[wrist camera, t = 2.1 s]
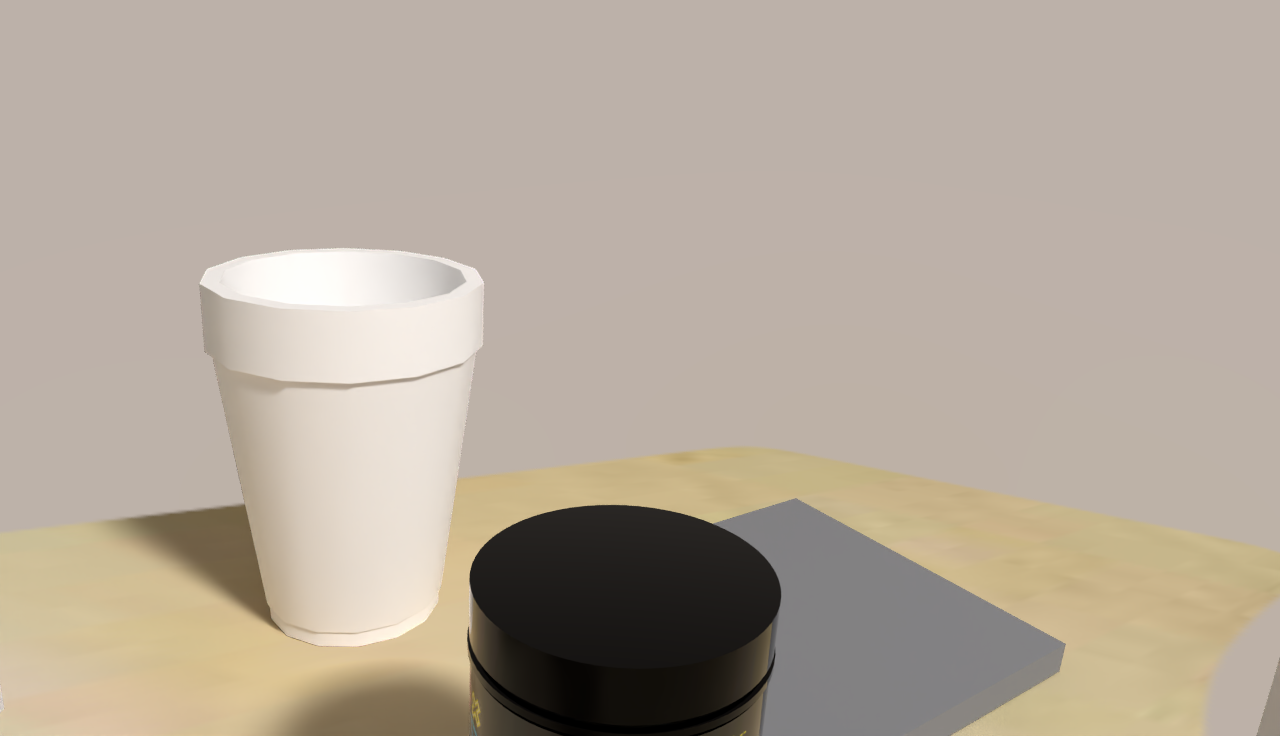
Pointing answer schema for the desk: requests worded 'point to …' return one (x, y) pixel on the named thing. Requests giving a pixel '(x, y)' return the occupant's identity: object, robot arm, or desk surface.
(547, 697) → the supplement container
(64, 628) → the desk surface
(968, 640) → the mat
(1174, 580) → the desk surface
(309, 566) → the foam cup
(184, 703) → the desk surface
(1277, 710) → the robot arm
